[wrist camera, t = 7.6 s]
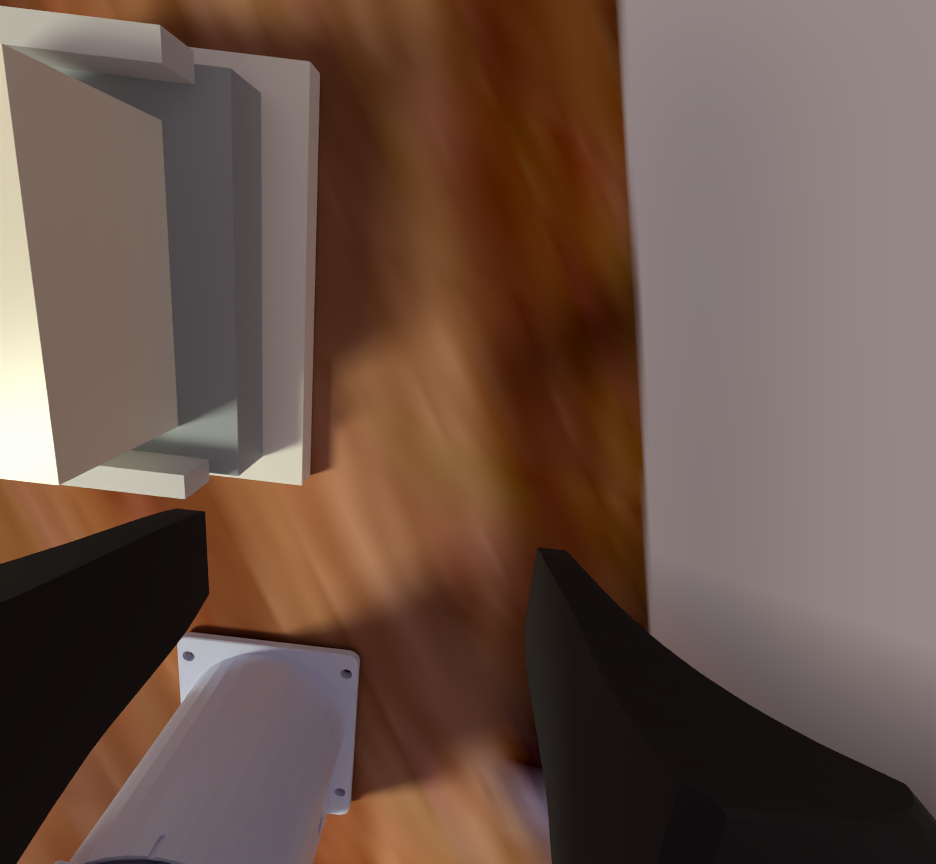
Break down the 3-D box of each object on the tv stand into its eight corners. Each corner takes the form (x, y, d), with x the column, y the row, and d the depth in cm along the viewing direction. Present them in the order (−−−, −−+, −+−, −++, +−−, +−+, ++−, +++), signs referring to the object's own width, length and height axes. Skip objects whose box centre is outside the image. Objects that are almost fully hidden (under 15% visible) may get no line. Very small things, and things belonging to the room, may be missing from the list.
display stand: (310, 475, 21) (264, 528, 16) (37, 443, 21) (-81, 488, 16) (320, 73, 17) (262, 2, 12) (-21, 33, 17) (-198, -53, 12)
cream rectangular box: (178, 426, 17) (59, 485, 12) (57, 412, 17) (-109, 465, 12) (161, 120, 14) (1, 43, 10) (19, 103, 14) (-213, 17, 10)
